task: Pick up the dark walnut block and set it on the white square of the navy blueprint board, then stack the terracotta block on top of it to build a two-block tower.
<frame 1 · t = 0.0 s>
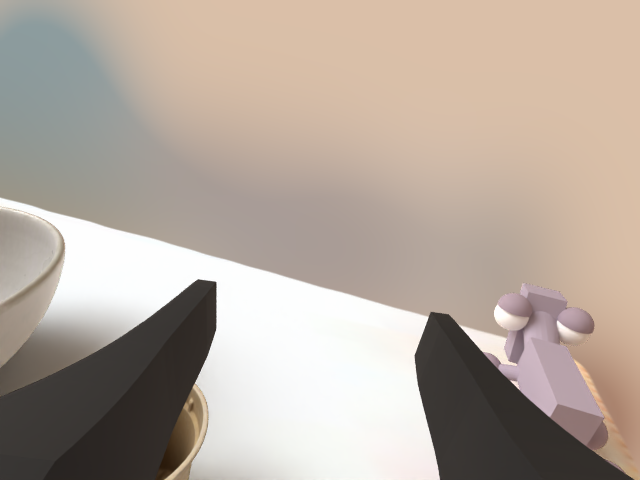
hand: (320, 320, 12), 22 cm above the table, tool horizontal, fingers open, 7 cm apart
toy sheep: (505, 428, 37), on the table
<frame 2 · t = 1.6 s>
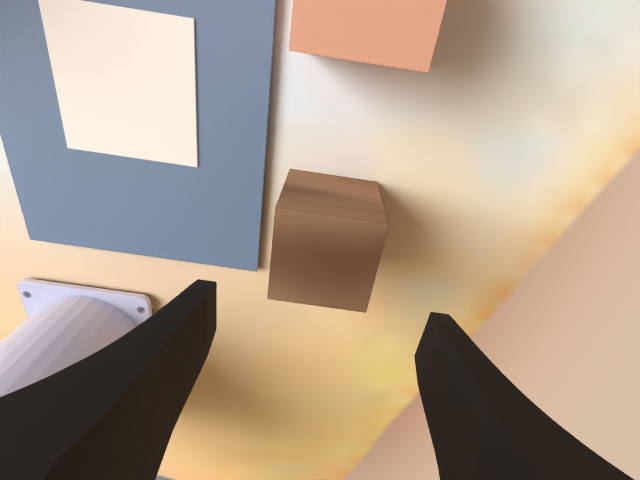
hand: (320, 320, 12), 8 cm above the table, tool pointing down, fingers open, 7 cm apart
blueprint board: (130, 87, 17), on the table
walnut block: (327, 214, 20), on the table
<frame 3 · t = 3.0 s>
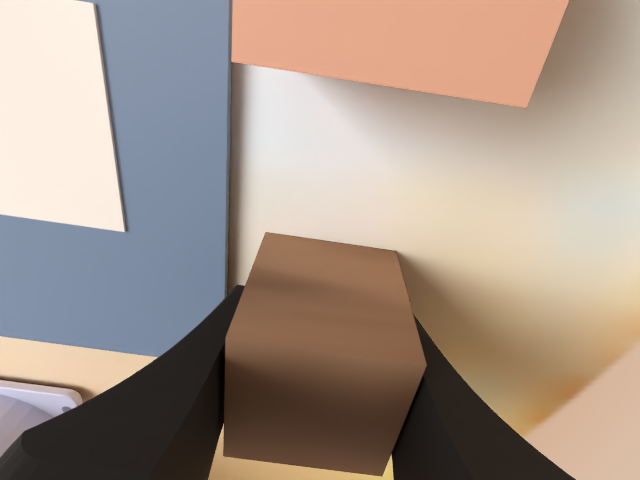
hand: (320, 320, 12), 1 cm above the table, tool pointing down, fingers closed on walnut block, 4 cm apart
blueprint board: (11, 114, 11), on the table
walnut block: (321, 294, 14), on the table, touching gripper
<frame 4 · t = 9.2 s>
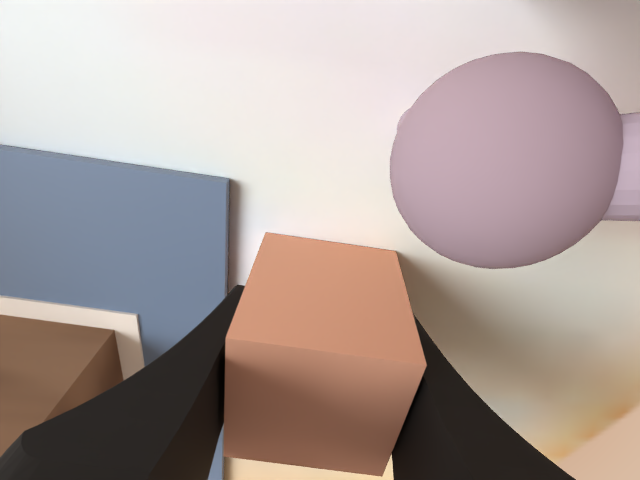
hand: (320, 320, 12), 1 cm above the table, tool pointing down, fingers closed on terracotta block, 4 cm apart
blueprint board: (74, 354, 16), on the table
terracotta block: (321, 294, 14), on the table, touching gripper
walnut block: (67, 362, 15), resting on blueprint board
when the fingers open (8 cm above the table, at t = 11.8 s): terracotta block stays where it is, resting on walnut block.
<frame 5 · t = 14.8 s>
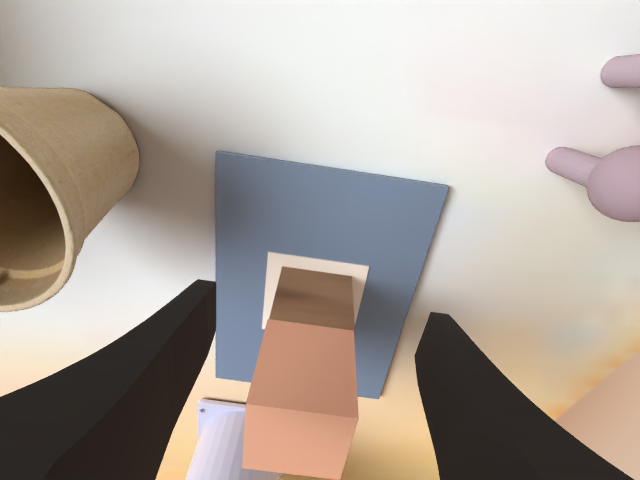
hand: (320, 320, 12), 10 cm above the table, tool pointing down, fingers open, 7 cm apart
flower pot: (87, 147, 21), on the table
blueprint board: (312, 295, 25), on the table
terracotta block: (305, 355, 20), point 5 cm above the table, touching walnut block
walnut block: (312, 299, 24), resting on blueprint board, touching terracotta block
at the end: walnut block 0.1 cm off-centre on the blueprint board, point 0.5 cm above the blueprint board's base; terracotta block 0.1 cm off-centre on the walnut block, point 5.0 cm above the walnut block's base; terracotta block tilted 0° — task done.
